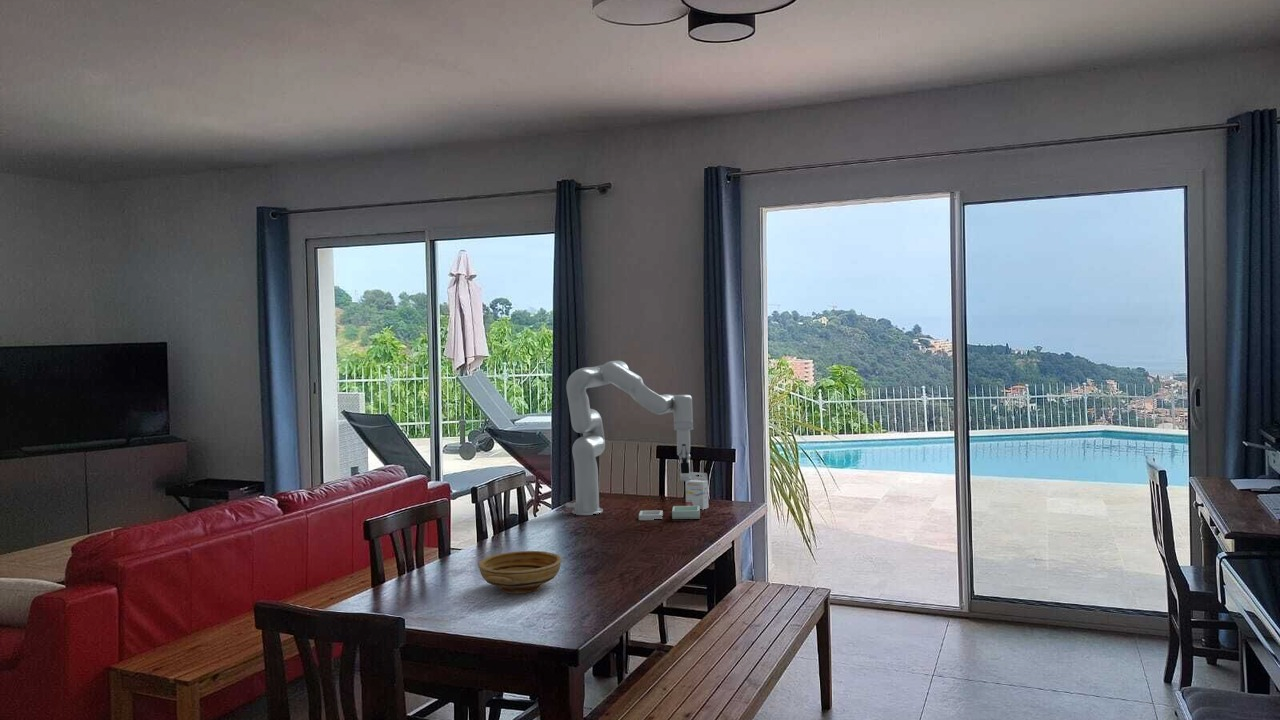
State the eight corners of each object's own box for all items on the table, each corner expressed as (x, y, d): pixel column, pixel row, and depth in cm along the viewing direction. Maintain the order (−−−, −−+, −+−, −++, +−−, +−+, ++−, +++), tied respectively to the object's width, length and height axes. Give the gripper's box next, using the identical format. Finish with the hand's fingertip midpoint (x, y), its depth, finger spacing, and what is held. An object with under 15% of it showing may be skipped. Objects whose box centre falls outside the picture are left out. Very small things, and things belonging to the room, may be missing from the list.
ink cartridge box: (685, 508, 367) (684, 473, 366) (691, 506, 371) (690, 471, 370) (703, 510, 362) (702, 474, 362) (709, 508, 366) (708, 472, 366)
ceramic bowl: (509, 572, 274) (508, 546, 274) (580, 577, 265) (579, 550, 265) (457, 599, 246) (456, 571, 246) (534, 606, 238) (533, 576, 238)
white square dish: (638, 520, 346) (638, 515, 346) (640, 515, 355) (640, 510, 355) (661, 520, 345) (661, 514, 345) (662, 515, 354) (662, 510, 354)
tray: (672, 520, 344) (672, 511, 344) (673, 514, 355) (673, 506, 354) (699, 519, 343) (699, 510, 343) (699, 514, 354) (699, 505, 354)
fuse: (679, 481, 346) (678, 455, 346) (680, 479, 351) (679, 454, 351) (691, 480, 346) (690, 455, 346) (691, 479, 350) (690, 453, 350)
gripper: (674, 424, 357) (676, 469, 357) (673, 428, 340) (674, 475, 340) (693, 423, 356) (695, 468, 356) (692, 427, 339) (694, 475, 340)
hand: (685, 471), depth 348 cm, fingers closed on fuse, 4 cm apart
